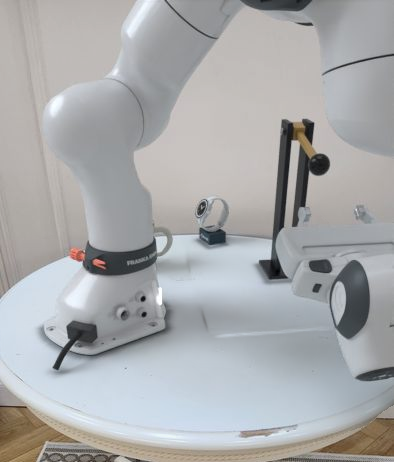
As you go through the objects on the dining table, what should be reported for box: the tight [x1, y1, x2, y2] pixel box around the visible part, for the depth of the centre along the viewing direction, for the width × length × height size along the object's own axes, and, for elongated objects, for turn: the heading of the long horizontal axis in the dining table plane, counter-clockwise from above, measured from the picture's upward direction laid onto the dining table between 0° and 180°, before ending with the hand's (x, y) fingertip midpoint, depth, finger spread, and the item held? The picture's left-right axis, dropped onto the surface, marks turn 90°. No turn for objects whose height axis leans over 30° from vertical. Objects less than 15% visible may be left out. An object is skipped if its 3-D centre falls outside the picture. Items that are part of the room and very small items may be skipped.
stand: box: [258, 118, 315, 281], centre depth 106 cm, size 9×9×30 cm
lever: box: [291, 121, 331, 177], centre depth 94 cm, size 17×4×4 cm, turn 8°
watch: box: [194, 195, 230, 246], centre depth 126 cm, size 6×8×11 cm
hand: (331, 208), depth 85 cm, fingers open, 8 cm apart
